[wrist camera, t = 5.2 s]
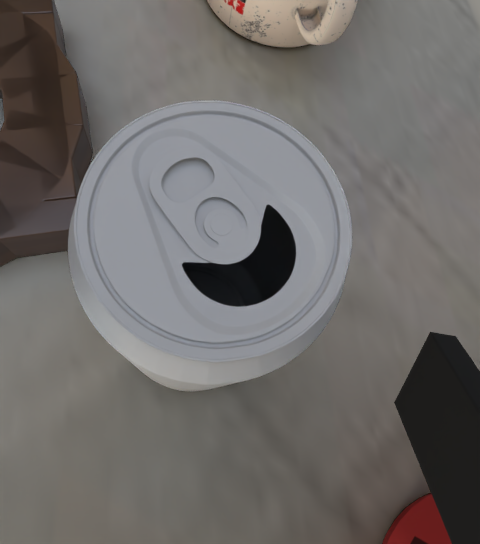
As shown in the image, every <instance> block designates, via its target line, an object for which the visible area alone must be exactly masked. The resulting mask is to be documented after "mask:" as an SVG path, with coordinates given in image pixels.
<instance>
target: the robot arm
mask: <svg viewBox="0 0 480 544" xmlns="http://www.w3.org/2000/svg"><path fill="white" fill-rule="evenodd" d="M394 403H395V405H396V408H397V410H398V413H399V415H400V418H401V420H402V423H403V425H404V427H405V430H406V432H407V435H408V437H409V440H410V442H411V445H412V447H413V450H414V452H415V454H416V457H417V459H418V462H419V464H420V467H421V469H422V472H423V474H424V477H425V479H426V482H427V484H428V486H429V489H430V491H431V494H432V496H433V499H434V501H435V504H436V506H437V509H438V511H439V513H440V516H441V518H442V521H443V523H444V526H445V528H446V531H447V533H448V536H449V538H450V540H451V543H452V544H480V371H479V370H478V368H477V367H476V365H475V364H474V362H473V361H472V360H471V358H470V357H469V355H468V354H467V352H466V351H465V349H464V348H463V346H462V345H461V343H460V342H459V341H458V339H457V338H456V336H450V335H445V334H439V333H433V332H430V334H429V335H428V337H427V339H426V341H425V343H424V345H423V347H422V349H421V351H420V353H419V355H418V357H417V359H416V361H415V363H414V365H413V367H412V369H411V371H410V373H409V375H408V377H407V379H406V381H405V383H404V385H403V387H402V389H401V391H400V393H399V395H398V396H397V398H396V400H395V402H394Z"/></svg>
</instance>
